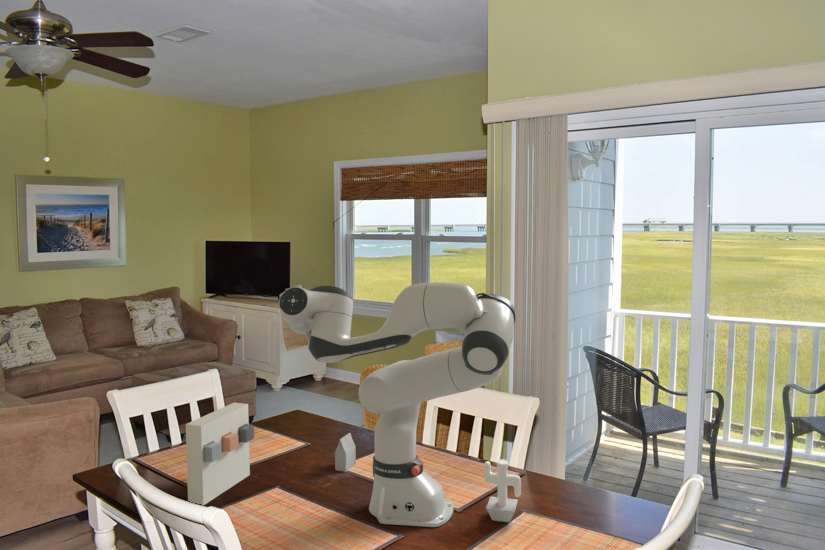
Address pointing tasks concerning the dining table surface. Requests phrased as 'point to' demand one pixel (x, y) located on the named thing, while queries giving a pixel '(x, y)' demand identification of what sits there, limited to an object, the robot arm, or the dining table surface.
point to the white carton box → (345, 454)
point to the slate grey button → (212, 451)
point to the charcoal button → (246, 433)
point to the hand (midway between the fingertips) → (311, 328)
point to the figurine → (502, 491)
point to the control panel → (233, 465)
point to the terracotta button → (229, 442)
